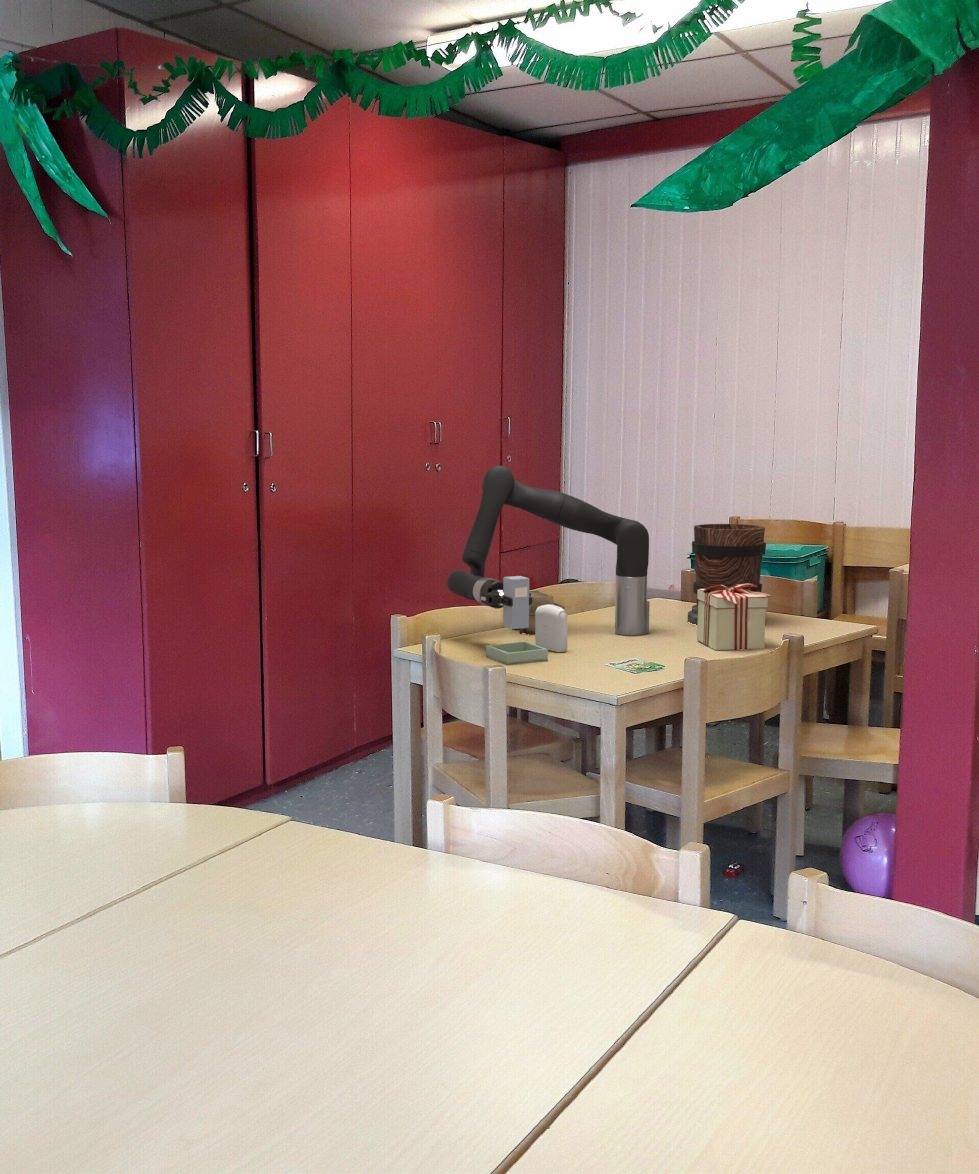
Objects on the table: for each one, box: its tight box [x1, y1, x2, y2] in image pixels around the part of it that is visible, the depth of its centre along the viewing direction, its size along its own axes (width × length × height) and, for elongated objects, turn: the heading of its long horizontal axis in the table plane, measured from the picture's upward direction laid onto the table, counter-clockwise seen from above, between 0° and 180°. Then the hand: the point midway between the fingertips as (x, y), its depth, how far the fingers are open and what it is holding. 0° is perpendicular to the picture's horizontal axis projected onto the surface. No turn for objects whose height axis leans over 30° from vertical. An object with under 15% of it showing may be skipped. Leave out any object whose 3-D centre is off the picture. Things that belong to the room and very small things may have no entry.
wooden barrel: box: [687, 523, 767, 625], centre depth 337 cm, size 24×30×30 cm
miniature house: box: [511, 590, 568, 636], centre depth 322 cm, size 15×14×11 cm
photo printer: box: [534, 605, 568, 653], centre depth 295 cm, size 10×4×12 cm, turn 39°
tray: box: [485, 640, 549, 666], centre depth 284 cm, size 12×12×3 cm
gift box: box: [696, 583, 775, 651], centre depth 299 cm, size 17×18×17 cm
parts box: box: [502, 575, 530, 630], centre depth 282 cm, size 5×5×13 cm
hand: (521, 601), depth 280 cm, fingers closed on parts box, 5 cm apart
